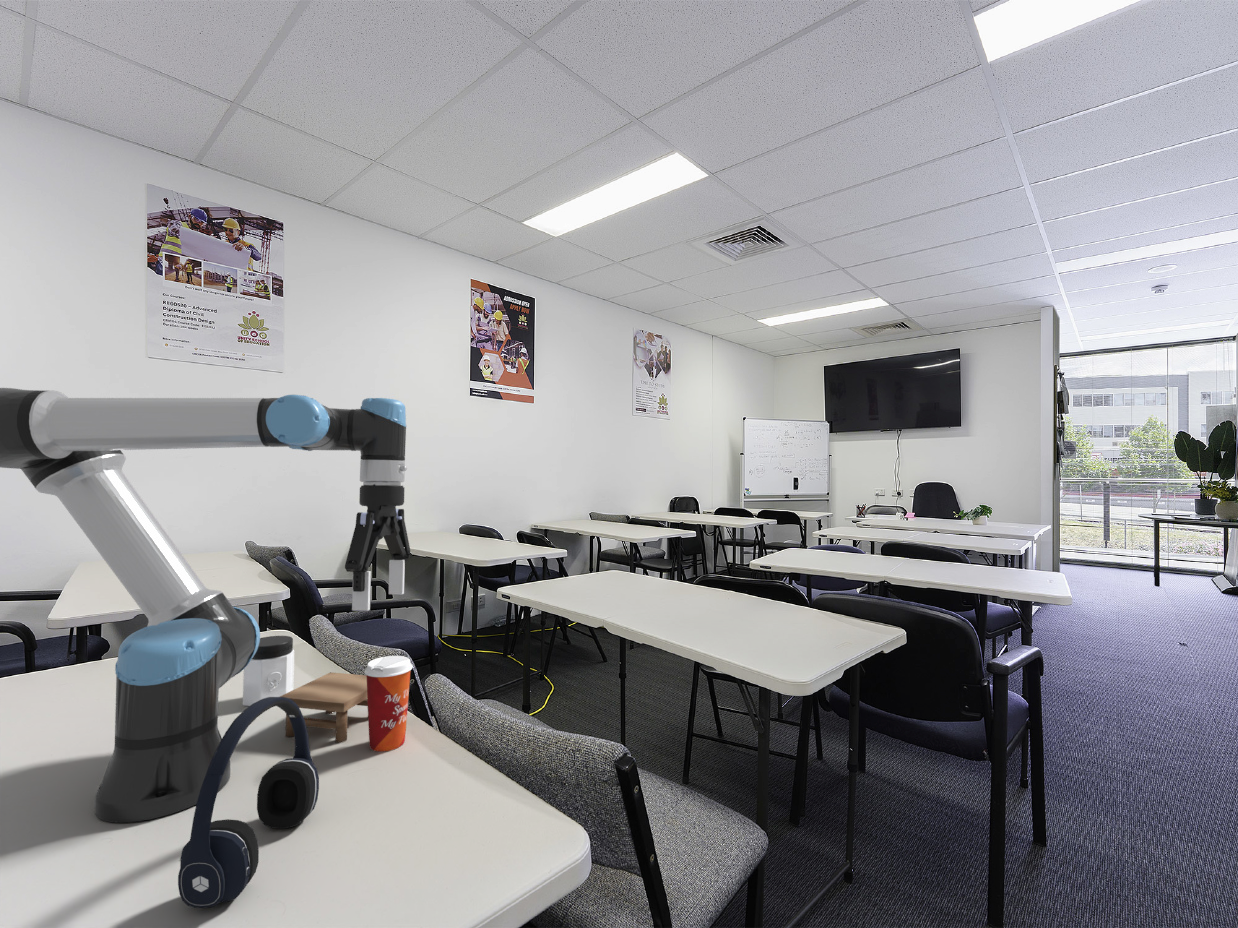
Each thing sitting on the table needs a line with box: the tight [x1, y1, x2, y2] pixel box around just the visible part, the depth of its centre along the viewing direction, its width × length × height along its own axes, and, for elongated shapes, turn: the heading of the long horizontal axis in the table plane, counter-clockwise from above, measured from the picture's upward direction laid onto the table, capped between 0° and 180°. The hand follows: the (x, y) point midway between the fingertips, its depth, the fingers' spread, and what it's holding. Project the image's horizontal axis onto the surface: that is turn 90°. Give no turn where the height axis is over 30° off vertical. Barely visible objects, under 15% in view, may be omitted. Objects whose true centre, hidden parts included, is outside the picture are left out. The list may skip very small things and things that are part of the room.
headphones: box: [177, 697, 320, 909], centre depth 67 cm, size 20×7×18 cm, turn 2°
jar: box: [242, 635, 295, 707], centre depth 115 cm, size 9×8×12 cm
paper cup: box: [363, 655, 414, 753], centre depth 96 cm, size 8×8×14 cm
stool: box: [280, 672, 368, 744], centre depth 103 cm, size 13×13×7 cm
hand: (379, 601), depth 101 cm, fingers open, 13 cm apart
